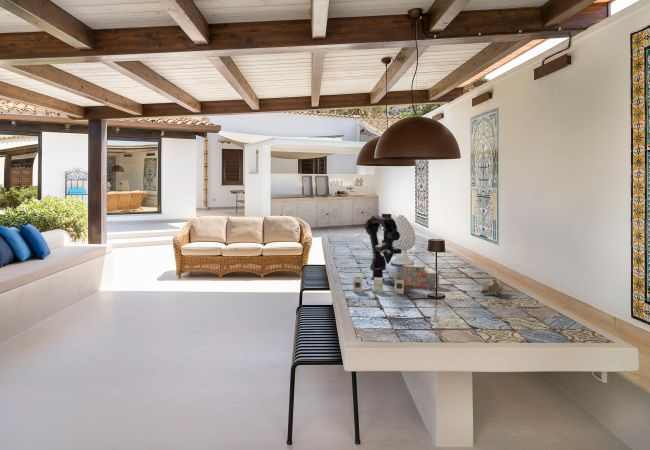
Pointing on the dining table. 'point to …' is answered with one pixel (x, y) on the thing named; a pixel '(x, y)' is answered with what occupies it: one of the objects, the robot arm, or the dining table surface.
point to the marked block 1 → (357, 284)
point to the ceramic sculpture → (493, 288)
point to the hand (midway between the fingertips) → (387, 263)
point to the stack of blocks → (419, 276)
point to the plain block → (378, 285)
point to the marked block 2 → (399, 286)
